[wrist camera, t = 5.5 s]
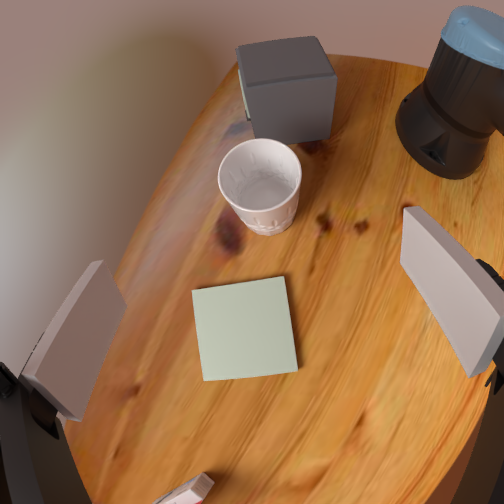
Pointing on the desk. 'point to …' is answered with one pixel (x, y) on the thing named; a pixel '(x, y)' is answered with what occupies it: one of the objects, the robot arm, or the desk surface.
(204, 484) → the ink cartridge box
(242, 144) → the white cup
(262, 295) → the coaster
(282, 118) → the block
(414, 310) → the desk surface
